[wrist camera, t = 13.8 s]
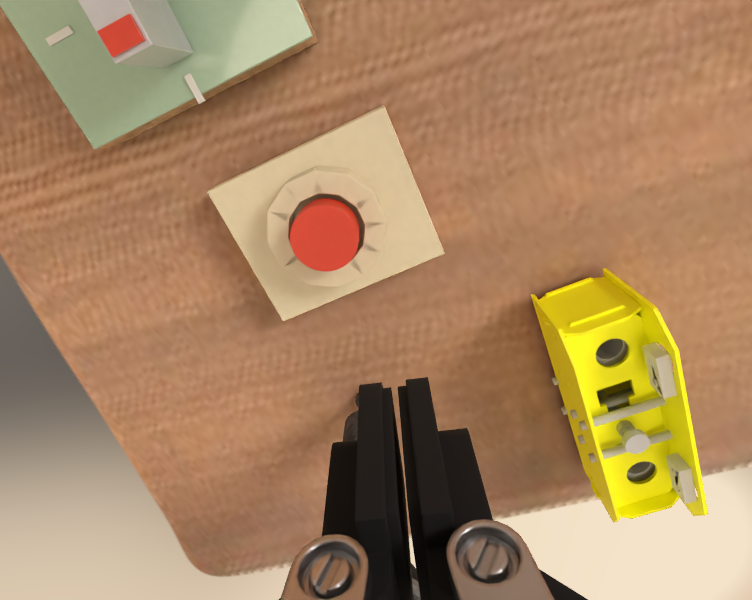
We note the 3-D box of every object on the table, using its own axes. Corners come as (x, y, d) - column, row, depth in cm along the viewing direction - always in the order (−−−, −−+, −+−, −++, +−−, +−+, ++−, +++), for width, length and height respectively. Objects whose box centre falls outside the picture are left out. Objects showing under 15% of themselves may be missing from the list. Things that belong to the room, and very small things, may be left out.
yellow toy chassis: (648, 441, 38) (719, 532, 30) (576, 464, 38) (627, 557, 31) (607, 261, 32) (683, 316, 24) (522, 292, 32) (569, 355, 25)
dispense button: (342, 187, 26) (340, 193, 24) (370, 246, 27) (369, 255, 26) (282, 214, 26) (277, 222, 25) (312, 270, 28) (309, 282, 26)
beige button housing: (383, 104, 28) (385, 107, 24) (440, 243, 31) (449, 263, 27) (217, 184, 29) (195, 198, 26) (288, 307, 33) (277, 335, 29)
